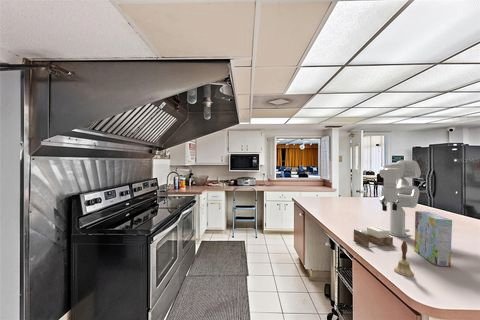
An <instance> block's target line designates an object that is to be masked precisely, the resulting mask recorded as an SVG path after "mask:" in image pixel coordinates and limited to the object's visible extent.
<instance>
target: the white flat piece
mask: <svg viewBox="0 0 480 320" xmlns="http://www.w3.org/2000/svg"><path fill="white" fill-rule="evenodd" d="M356 230H357V231H360V232H362V233H367V230H364V229H356Z"/></svg>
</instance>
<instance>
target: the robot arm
mask: <svg viewBox="0 0 480 320" xmlns="http://www.w3.org/2000/svg"><path fill="white" fill-rule="evenodd" d="M421 172H422V171H421V168H420V166H419V163H418V162H417V161H416V160H410V159H407V160H406V159H401V160H398V161H396V162H395V163H392V164H386V165H384V166H382V167H381V168H380V169H379V172H378V173H379V176H380V178H383V187H382V189H381V194H380V195H381V197H380V198H379V202H380V204H381V205H382V207H381V209H382V211H383V212H387V211H388V206H387V204H388V203H389V206H390V209H389V210H390V213H389V214H390V216H389V217H390V221H389V222H390V223H389V224H390V227H389V236H392V237H394V236H395V237H399V238H407V237H408V236H409V235H408V233H410V229H407V228H406V211H405V210H404V208H409V209H415V208H416V207H417V205H418V201H419V197H420V189H419V187H418V186H416V185H410V182H409V181H408V180H407V179H419V178H420V177H421V175H422V173H421Z"/></svg>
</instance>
